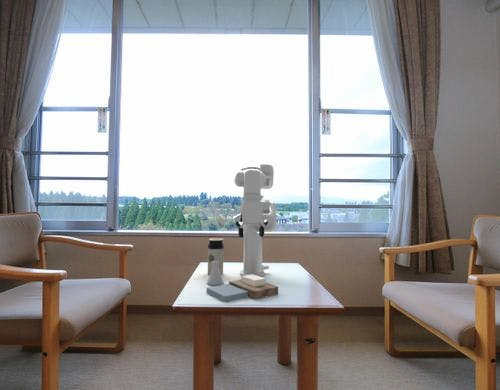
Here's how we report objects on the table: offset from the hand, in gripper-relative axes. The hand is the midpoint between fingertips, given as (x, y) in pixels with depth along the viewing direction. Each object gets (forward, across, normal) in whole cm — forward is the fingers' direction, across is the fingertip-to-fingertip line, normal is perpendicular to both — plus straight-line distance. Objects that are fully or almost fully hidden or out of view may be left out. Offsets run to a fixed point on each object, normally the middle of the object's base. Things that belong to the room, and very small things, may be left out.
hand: (251, 236), depth 136 cm
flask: (+22, +13, -11) cm, 28 cm away
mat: (+22, +13, +6) cm, 27 cm away
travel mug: (+22, +7, -30) cm, 38 cm away
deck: (+22, +2, +6) cm, 23 cm away
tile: (+19, +1, +4) cm, 20 cm away
